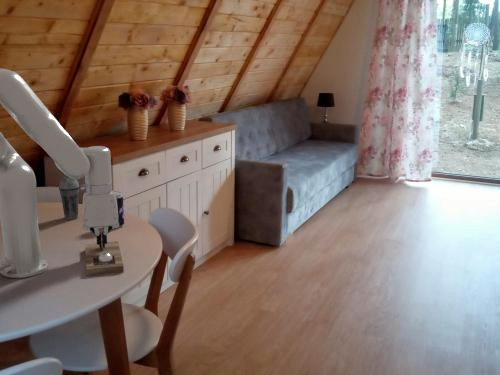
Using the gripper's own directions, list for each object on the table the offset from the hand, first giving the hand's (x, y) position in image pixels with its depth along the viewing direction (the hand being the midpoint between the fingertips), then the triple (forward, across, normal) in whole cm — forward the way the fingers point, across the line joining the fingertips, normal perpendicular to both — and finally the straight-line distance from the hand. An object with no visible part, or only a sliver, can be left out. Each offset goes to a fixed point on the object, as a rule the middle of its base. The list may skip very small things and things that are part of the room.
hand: (102, 246), depth 168 cm
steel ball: (+1, +1, -9) cm, 9 cm away
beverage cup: (+3, -10, +39) cm, 40 cm away
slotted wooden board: (+3, 0, -5) cm, 5 cm away
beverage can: (+3, +6, +26) cm, 27 cm away
